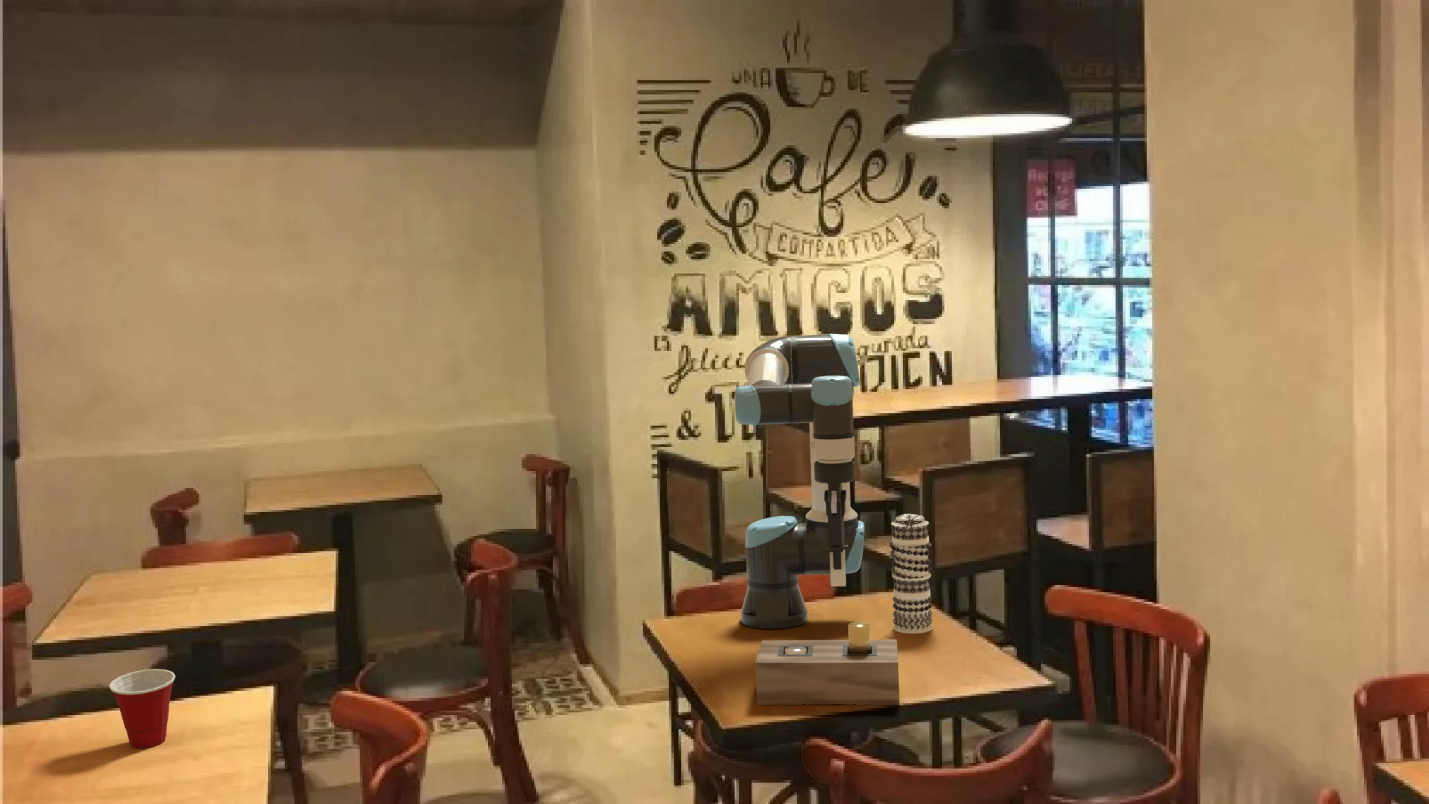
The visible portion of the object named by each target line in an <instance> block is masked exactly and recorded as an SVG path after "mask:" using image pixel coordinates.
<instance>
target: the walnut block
mask: <svg viewBox="0 0 1429 804" xmlns="http://www.w3.org/2000/svg"><path fill="white" fill-rule="evenodd" d="M791 646H802V647H805V648H806V654H785V648H787V647H791ZM870 653H871V654H849V639H815V640H814V639H806V640H805V639H800V640H797V639H794V640H793V639H787V640H785V639H784V640H783V639H782V640H781V639H780V640H776V639H775V640H774V639H773V640H770V639H769V640H768V639H766V640H761V642H760V646H759V648H758V653H757V656H756V658H755V659H756V660H755V665H754V666H755V683H756V684H755V685H756V686H755V687H756V705H757V706H804V705H803V704H806V705H805V706H810V705H809V704H856V705H855V706H900V684H899V683H900V680H899V679H900V678H899V677H900V675H899V656H898V653H899V652H898V640H897V639H870ZM866 704H867V705H866Z"/></svg>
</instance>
